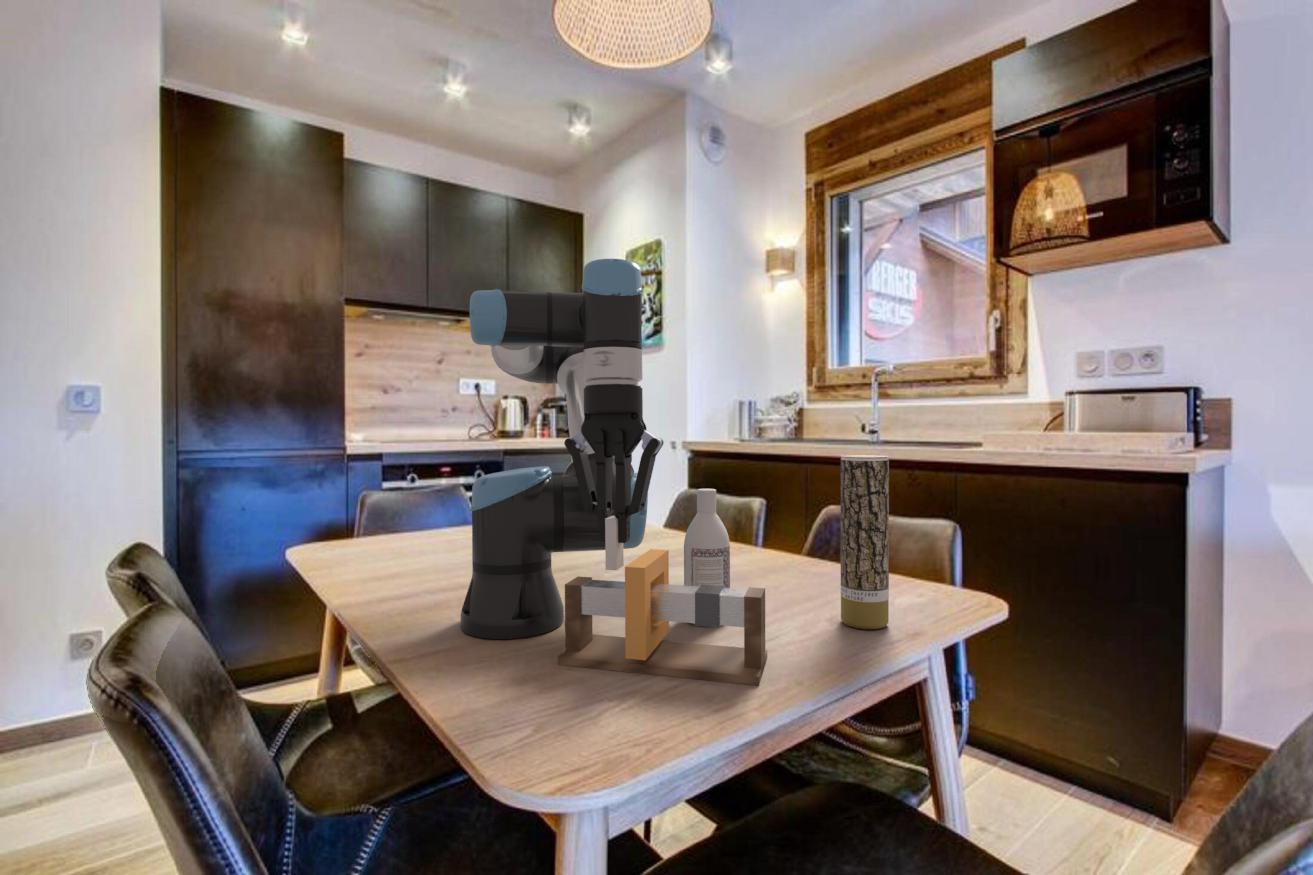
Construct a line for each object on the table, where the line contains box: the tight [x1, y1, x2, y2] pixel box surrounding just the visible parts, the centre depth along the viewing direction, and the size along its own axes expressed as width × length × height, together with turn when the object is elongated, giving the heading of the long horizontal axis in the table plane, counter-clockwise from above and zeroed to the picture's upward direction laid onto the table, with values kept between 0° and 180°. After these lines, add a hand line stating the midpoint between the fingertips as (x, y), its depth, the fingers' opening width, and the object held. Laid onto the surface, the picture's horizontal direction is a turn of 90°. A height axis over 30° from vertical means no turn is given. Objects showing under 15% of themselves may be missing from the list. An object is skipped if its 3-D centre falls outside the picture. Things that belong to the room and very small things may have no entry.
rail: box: [580, 579, 748, 628], centre depth 81 cm, size 22×4×4 cm, turn 74°
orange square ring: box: [624, 548, 670, 660], centre depth 81 cm, size 2×11×11 cm, turn 164°
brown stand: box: [557, 576, 768, 686], centre depth 81 cm, size 25×9×10 cm, turn 74°
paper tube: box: [840, 454, 890, 631], centre depth 95 cm, size 7×7×25 cm
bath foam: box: [683, 488, 731, 626], centre depth 98 cm, size 7×7×20 cm
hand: (614, 567), depth 82 cm, fingers closed
